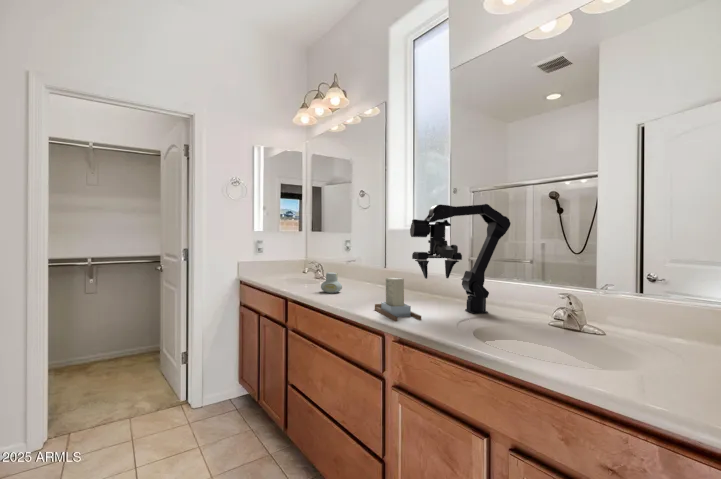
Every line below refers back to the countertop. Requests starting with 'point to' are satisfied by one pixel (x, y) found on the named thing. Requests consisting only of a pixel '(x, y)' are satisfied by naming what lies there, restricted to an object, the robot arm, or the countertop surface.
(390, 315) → the bay
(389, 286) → the skincare box
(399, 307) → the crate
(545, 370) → the countertop surface
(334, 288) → the air freshener
